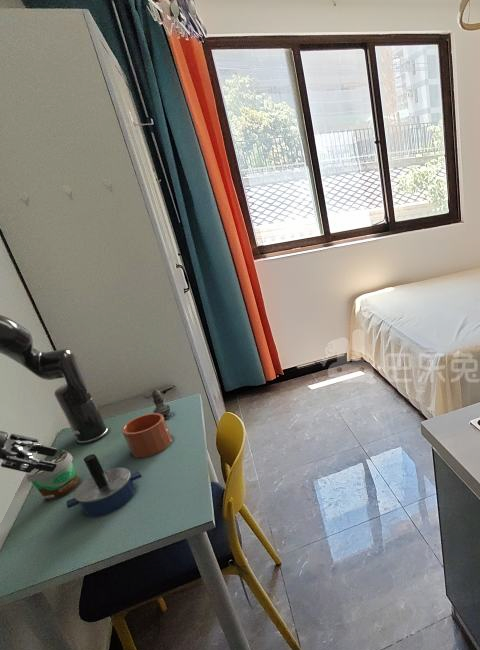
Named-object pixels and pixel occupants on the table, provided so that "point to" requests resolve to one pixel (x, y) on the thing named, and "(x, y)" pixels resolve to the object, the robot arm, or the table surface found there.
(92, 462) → the lid
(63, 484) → the food container
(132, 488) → the pan
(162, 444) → the pot
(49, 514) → the table surface
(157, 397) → the grey upright piece
